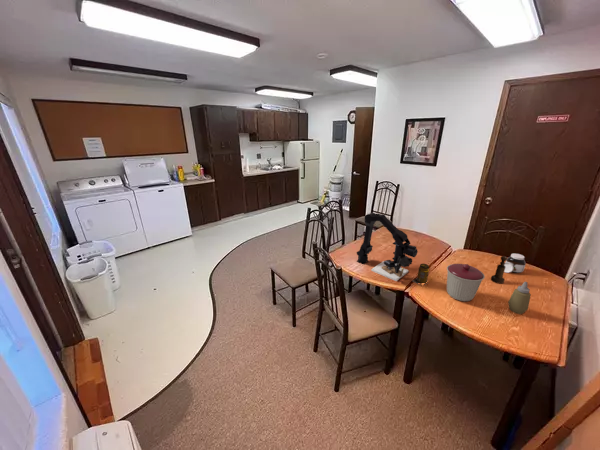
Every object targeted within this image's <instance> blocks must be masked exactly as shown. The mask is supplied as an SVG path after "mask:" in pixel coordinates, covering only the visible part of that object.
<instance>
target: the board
mask: <svg viewBox="0 0 600 450" xmlns="http://www.w3.org/2000/svg"><path fill="white" fill-rule="evenodd" d="M384 261H385V260H383V261H381V262H380V263H378V264H377V265H376V266H374V267H373V268H371V272H373V273H374V274H375V273H376V274H378V275H380V276H383V277H385V278H386V279H390V280H392V281H394V282H398V281H399V280H400V279H401V278H403V277H404V276H405V275H406V274H408V273H409V270H408V269H407V268H404V269H403V274H402V276H401V277H399V276H397V275H396V274H394V273H390V274H389V273H388V272H386V271H385V270H383V269H382V266H386V265H385V264H384ZM402 268H403V267H401V268H400V269H399V270H400V271H401V270H402ZM388 269H389V270H392V268H389V267H388Z"/></svg>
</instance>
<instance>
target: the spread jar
mask: <svg viewBox="0 0 600 450" xmlns="http://www.w3.org/2000/svg"><path fill="white" fill-rule="evenodd" d="M525 258H526V257H525V256H524V255H523V254H520V253H511V254H510V256H508V257H507V260H506V261H505V262H504V263H505V264H504V266H505V270H504V273H507V274H508V273H513V274H520V273H523V272H524V271H525V267H526V265H527V263H526V260H525Z"/></svg>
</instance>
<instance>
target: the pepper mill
mask: <svg viewBox="0 0 600 450" xmlns="http://www.w3.org/2000/svg"><path fill="white" fill-rule="evenodd" d="M507 258H508V257H507V256H505V255H502V256H501V257H500V262H499V264H497V265H496V266H497V267H496V270H495V273H494V275H491V278H490V281H492V282H493V283H495V284H504V283H505V278H504V277H503V276H504V273H505V272H504V270H505V266H504V264H505V263H506V260H507Z"/></svg>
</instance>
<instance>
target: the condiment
mask: <svg viewBox="0 0 600 450" xmlns="http://www.w3.org/2000/svg"><path fill="white" fill-rule="evenodd" d="M429 269H430V265H428V264H426V263H420V264H419V267H418V269H417V276H416V278H415V279H412V280H411V281H412V282H413V283H414V284H417V285H419V284H418V283H426V282H427V281H428V277H429V273H430V270H429Z"/></svg>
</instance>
